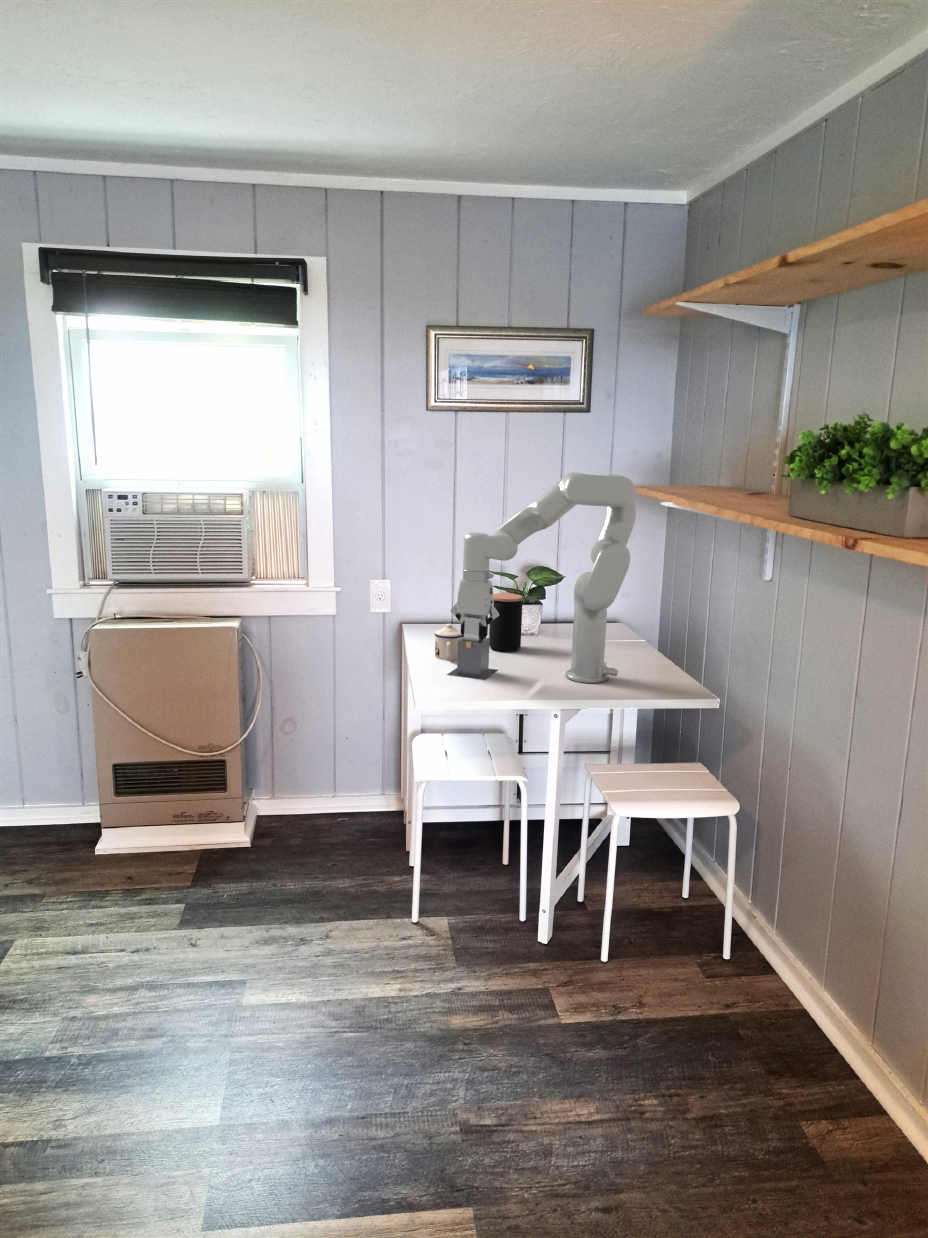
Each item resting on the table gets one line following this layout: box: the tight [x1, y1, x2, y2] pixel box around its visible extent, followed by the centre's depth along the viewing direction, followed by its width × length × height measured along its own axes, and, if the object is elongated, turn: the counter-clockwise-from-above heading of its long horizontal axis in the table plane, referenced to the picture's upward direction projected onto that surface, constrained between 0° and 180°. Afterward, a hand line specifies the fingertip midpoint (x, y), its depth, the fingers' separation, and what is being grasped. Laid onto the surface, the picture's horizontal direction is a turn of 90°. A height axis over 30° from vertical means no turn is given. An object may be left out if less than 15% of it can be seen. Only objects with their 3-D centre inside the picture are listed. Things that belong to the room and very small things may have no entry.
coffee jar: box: [488, 592, 524, 653], centre depth 280 cm, size 11×11×18 cm
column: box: [461, 615, 483, 642], centre depth 246 cm, size 6×6×17 cm
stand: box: [446, 637, 499, 681], centre depth 247 cm, size 12×12×11 cm
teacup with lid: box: [434, 623, 463, 661], centre depth 262 cm, size 12×9×12 cm
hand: (473, 636), depth 246 cm, fingers open, 5 cm apart
